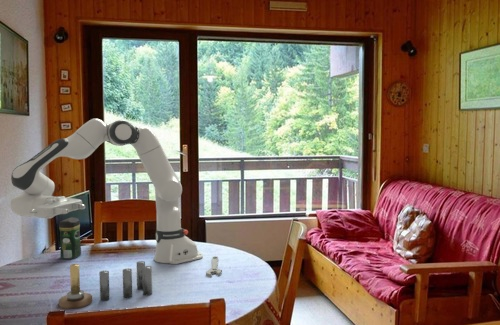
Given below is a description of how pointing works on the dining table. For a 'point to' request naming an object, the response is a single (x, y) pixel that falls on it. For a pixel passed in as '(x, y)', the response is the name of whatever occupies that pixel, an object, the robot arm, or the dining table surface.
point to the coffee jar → (70, 238)
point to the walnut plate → (77, 304)
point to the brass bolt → (75, 285)
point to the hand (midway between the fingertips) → (75, 209)
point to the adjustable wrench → (214, 268)
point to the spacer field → (128, 281)
